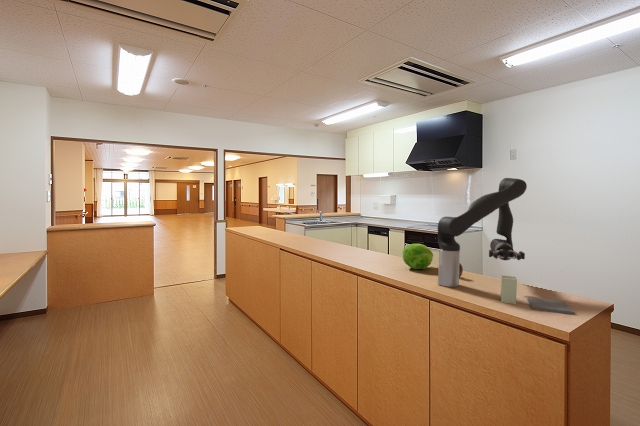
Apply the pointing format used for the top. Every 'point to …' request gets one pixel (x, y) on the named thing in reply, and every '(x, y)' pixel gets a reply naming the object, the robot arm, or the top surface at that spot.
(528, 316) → the top surface
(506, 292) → the sage block
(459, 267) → the tin
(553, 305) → the charcoal mat
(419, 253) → the lettuce
